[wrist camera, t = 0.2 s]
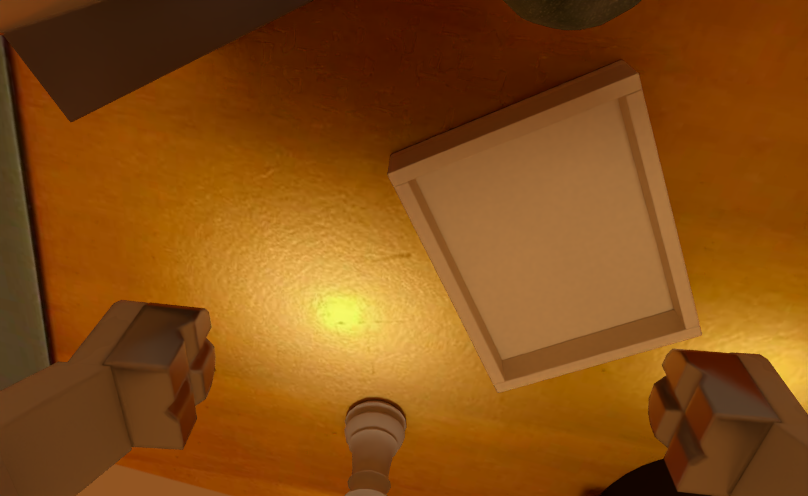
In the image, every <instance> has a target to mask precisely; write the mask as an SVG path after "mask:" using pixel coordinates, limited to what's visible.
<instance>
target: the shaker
mask: <svg viewBox="0 0 808 496" xmlns="http://www.w3.org/2000/svg"><path fill="white" fill-rule="evenodd" d="M104 1H107V0H0V35H3V34H6V33H9V32H12V31H15V30H18V29H21V28H24V27H27V26H30V25H33V24H37V23H40V22H43V21H46V20H49V19H52V18H55V17H58V16H61V15H64V14H67V13H70V12H73V11H76V10H80V9H83V8H86V7H89V6H92V5H95V4H98V3H101V2H104Z"/></svg>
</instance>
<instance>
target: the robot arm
mask: <svg viewBox="0 0 808 496" xmlns="http://www.w3.org/2000/svg"><path fill="white" fill-rule="evenodd" d="M211 327H212V326H211V320H210V315H209V312H208V311H207V310H206V309H205V308H196V307H187V306H177V305H168V304H159V303H146V302H136V301H126V300H120V301H118V302H116V303H114V304H113V305H112V306H111V307H110V309H109V310H108V311H107V313H106V314H105V315H104V316H103V318H102V319H101V320H100V321H99V323H98V324H97V325H96V327H95V328H94V329H93V330H92V332H91V333H90V334H89V336H88V337H87V338H86V339H85V341H84V342H83V343H82V344H81V346H80V347H79V348H78V350H77V351H76V352H75V353H74V355H73V356H72V357H71V358H70V360H69V361H68V362H57V363H55V364H53V365H51V366H49V367H47V368H45V369H43V370H41V371H39V372H37V373H35V374H33V375H31V376H29V377H27V378H25V379H23V380H21V381H19V382H17V383H15V384H13V385H11V386H9V387H7V388H5V389H3V390H1V391H0V496H76V495H77V494H78V493H79V492H81V491H82V490H83V489H84V488H86V487H87V486H88V485H89V484H90V483H92V482H93V481H94V480H95V479H97V478H98V477H99V476H100V475H101V474H103V473H104V472H105V471H106V470H108V469H109V468H110V467H111V466H112V465H114V464H115V463H116V462H117V461H119V460H120V459H121V458H122V457H123V456H125V455H126V454H127V453H128V452H130V451H131V450H132V448H131V447H145V448H162V449H180V450H183V448H184V446H185V444H186V442H187V440H188V437H189V435H190V433H191V431H192V429H193V426H194V424H195V422H196V420H197V415H196V408H195V406H196V405H197V404H199V403H200V402H202V401H203V400H205V399H206V397H207V395H208V393H209V390H210V388H211V385H212V381H213V376H214V372H215V349H214V346H213V345H212V344H211V343H210V341H209V340H208V339H207V338H206V337H207V335H208V333H209V331H210V329H211ZM662 367H663V369H664V371H665V373H666V376H665V377H663V378H662V379H660V380H659V381H657V382H656V383H655V384H654V385H653V388H652V391H651V394H650V396H649V406H648V415H649V421H650V425H651V428H652V431H653V433H654V436H655V437H656V438H657V439H658V440H659V441H660V442H662V443H663V444H664V445H665V446H666V447H667V448H668V450H667V452H666V454H665V456H664V460H665V463H666V465H667V468H668V470H669V472H670V475H671V477H672V480H673V482H674V484H675V487H676V489H677V492H686V493H695V494H704V495H712V496H808V414H807V413H806V412H805V410H804V409H803V408H802V406H801V405H800V403H799V402H798V401H797V399H796V398H795V396H794V395H793V394H792V392H791V391H790V390H789V388H788V387H787V385H786V384H785V383H784V381H783V380H782V378H781V377H780V376H779V374H778V373H777V372H776V370H775V369H774V367H773V366H772V365H771V363H770V362H769V361H768V359H766V358H765V357H763V356H762V355H760V354H746V353H721V352H709V351H696V350H684V349H672V350H671V351H670V352H669V353H668V354H667V355H666V357H665V359H664V361H663V364H662Z"/></svg>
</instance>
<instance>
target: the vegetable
mask: <svg viewBox="0 0 808 496" xmlns="http://www.w3.org/2000/svg"><path fill="white" fill-rule="evenodd" d="M503 1H504V2H505V3H506V4H507V5H508V6H509V7H510V8H512V9H513V10H514V11H515V12H516V13H517V14H518V15H519V16H520V17H521V18H523V19H525V20H527V21H530V22H532V23H536V24H539V25H543V26H547V27H551V28H555V29H561V30H582V29H586V28H590V27H595V26H599V25H602V24H604V23H606V22H608V21H609V20H611V19H613V18H615V17H617V16H618V15H620V14H622V13H624V12H625V11H627V10H629V9H631V8H633V7H634V6H635V5H637V4H638V3H639V2H640V1H641V0H503Z"/></svg>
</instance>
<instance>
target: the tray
mask: <svg viewBox="0 0 808 496" xmlns="http://www.w3.org/2000/svg"><path fill="white" fill-rule="evenodd" d="M387 175H388V177H389V179H390V181H391V183H392V185H393V186H394V188H395V190H396V192H397V194H398V196H399V198H400V200H401V202H402V204H403V206H404V208H405V210H406V212H407V214H408V216H409V218H410V220H411V222H412V224H413V226H414V228H415V230H416V232H417V234H418V236H419V238H420V240H421V242H422V244H423V246H424V248H425V250H426V252H427V254H428V256H429V258H430V260H431V262H432V264H433V266H434V268H435V270H436V272H437V274H438V276H439V278H440V280H441V282H442V284H443V285H444V287H445V289H446V291H447V293H448V295H449V297H450V299H451V301H452V303H453V305H454V307H455V309H456V311H457V313H458V315H459V317H460V319H461V321H462V323H463V325H464V327H465V329H466V331H467V333H468V335H469V337H470V339H471V341H472V343H473V345H474V347H475V349H476V351H477V353H478V355H479V357H480V359H481V361H482V363H483V365H484V367H485V369H486V371H487V373H488V375H489V377H490V379H491V381H492V383H493V384H494V387H495V389H496V391H497V392H498V393H500V392H504V391H507V390H511V389H514V388H518V387H521V386H525V385H528V384H532V383H535V382H539V381H542V380H546V379H550V378H553V377H557V376H560V375H564V374H567V373H571V372H574V371H578V370H581V369H585V368H588V367H592V366H595V365H599V364H603V363H606V362H610V361H613V360H617V359H620V358H624V357H627V356H631V355H634V354H638V353H641V352H645V351H648V350H652V349H656V348H659V347H663V346H666V345H670V344H673V343H677V342H680V341H684V340H687V339H691V338H694V337H698V336H701V335H702V333H701V328H700V325H699V320H698V316H697V312H696V308H695V304H694V300H693V296H692V291H691V287H690V283H689V279H688V275H687V271H686V267H685V263H684V259H683V255H682V250H681V246H680V242H679V238H678V234H677V230H676V226H675V222H674V218H673V213H672V209H671V205H670V201H669V197H668V193H667V189H666V185H665V181H664V176H663V172H662V168H661V164H660V160H659V156H658V152H657V148H656V144H655V140H654V135H653V131H652V127H651V123H650V119H649V115H648V111H647V107H646V103H645V98H644V94H643V90H642V85H641V81H640V77H639V73H638V72H636V71H635V70H634V69H633V68H632V67H631V66H630V65H628V64H627V63H626V62H625V61H623V60H620V61H617V62H615V63H613V64H610V65H608V66H605V67H603V68H600V69H598V70H596V71H593V72H591V73H588V74H586V75H583V76H581V77H579V78H576V79H574V80H571V81H569V82H566V83H564V84H562V85H559V86H557V87H554V88H552V89H549V90H547V91H544V92H542V93H540V94H537V95H535V96H532V97H530V98H527V99H525V100H523V101H520V102H518V103H515V104H513V105H510V106H508V107H506V108H503V109H501V110H498V111H496V112H493V113H491V114H489V115H486V116H484V117H481V118H479V119H476V120H474V121H472V122H469V123H467V124H464V125H462V126H459V127H457V128H455V129H452V130H450V131H447V132H445V133H442V134H440V135H438V136H435V137H433V138H430V139H428V140H425V141H423V142H421V143H418V144H416V145H413V146H411V147H408V148H406V149H403V150H401V151H399V152H396V153H394V154H391V156H390V161H389V167H388V173H387Z"/></svg>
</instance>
